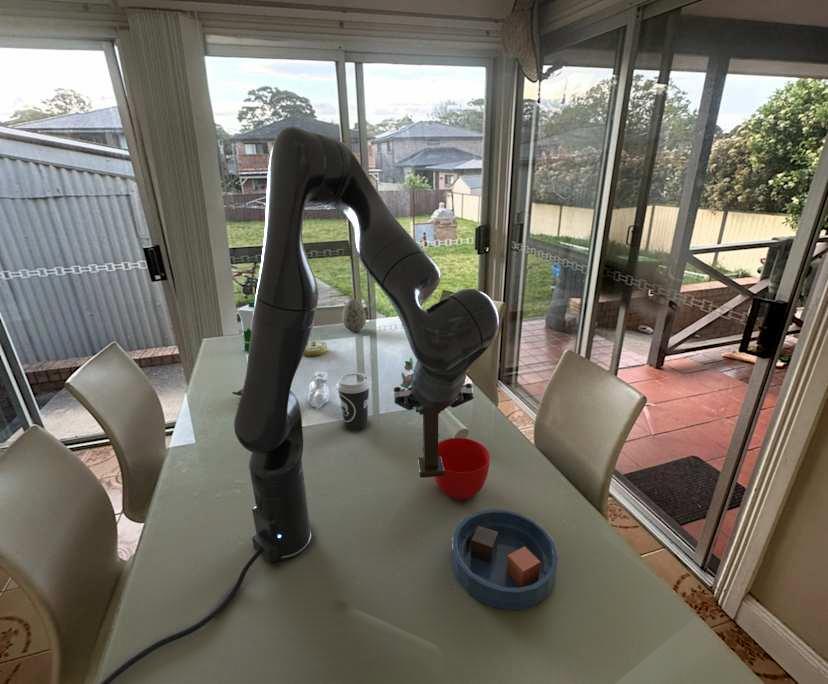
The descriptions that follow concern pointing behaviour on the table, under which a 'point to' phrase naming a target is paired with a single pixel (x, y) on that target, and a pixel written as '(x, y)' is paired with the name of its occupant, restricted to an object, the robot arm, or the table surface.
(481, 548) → the walnut block
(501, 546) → the bowl
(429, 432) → the wooden post with base
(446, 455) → the ceramic cup
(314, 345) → the decorated donut
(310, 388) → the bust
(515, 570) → the terracotta block
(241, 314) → the soya milk
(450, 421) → the flower vase
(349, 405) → the coffee cup
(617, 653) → the table surface
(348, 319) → the decorative egg
